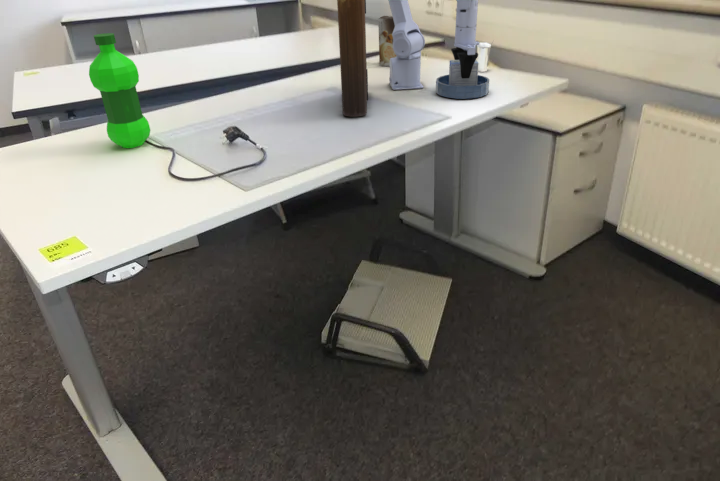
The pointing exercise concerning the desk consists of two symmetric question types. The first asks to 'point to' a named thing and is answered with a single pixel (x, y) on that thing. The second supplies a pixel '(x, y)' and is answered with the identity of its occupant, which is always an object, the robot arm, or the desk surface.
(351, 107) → the dark brown tall slab
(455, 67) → the medicine box
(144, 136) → the plastic bottle
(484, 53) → the milkshake
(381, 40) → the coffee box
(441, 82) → the bowl
